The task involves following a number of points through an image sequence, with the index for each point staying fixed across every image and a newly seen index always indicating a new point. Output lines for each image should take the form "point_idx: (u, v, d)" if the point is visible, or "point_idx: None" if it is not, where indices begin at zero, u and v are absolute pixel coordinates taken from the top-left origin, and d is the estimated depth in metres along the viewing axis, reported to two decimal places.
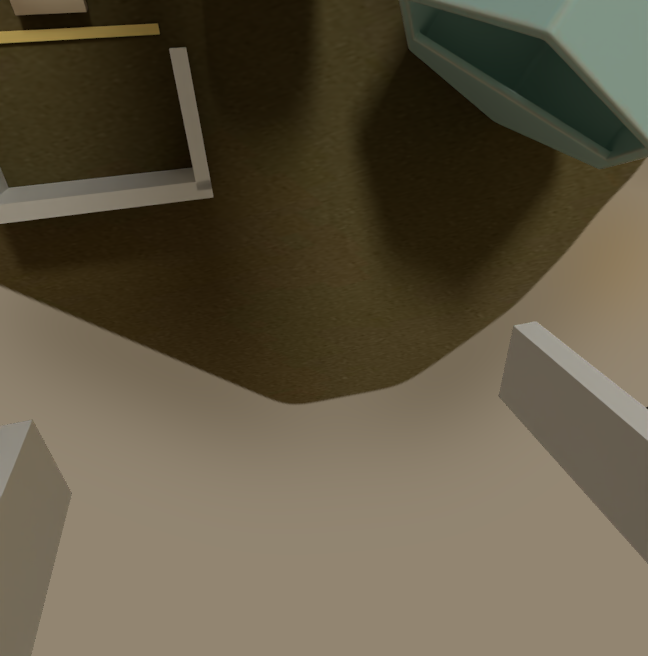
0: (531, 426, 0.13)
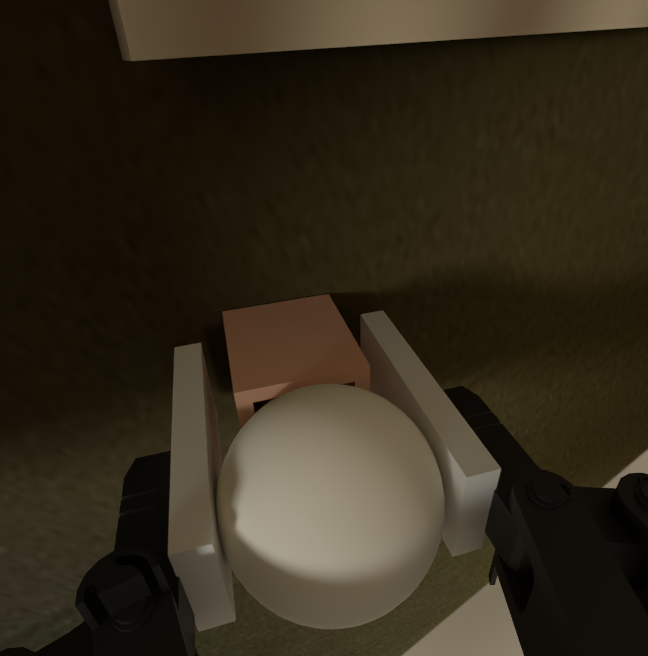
0: None
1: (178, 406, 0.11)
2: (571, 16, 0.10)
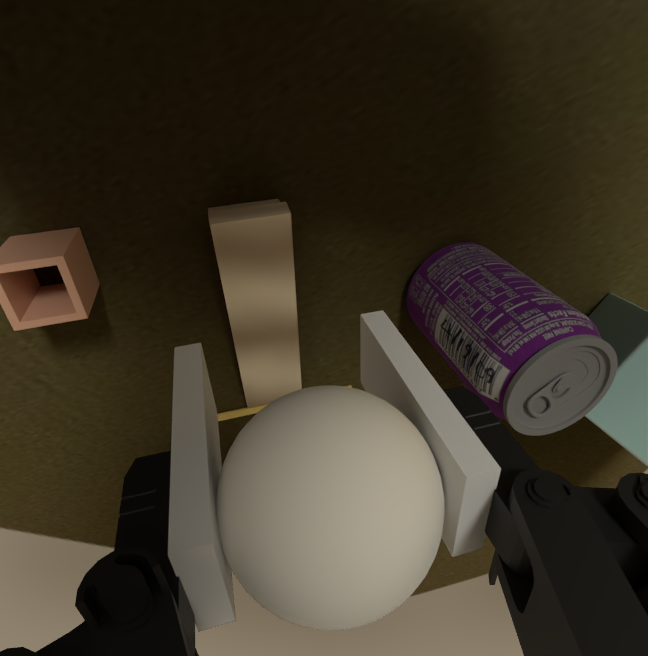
0: None
1: (178, 406, 0.11)
2: (241, 355, 0.29)
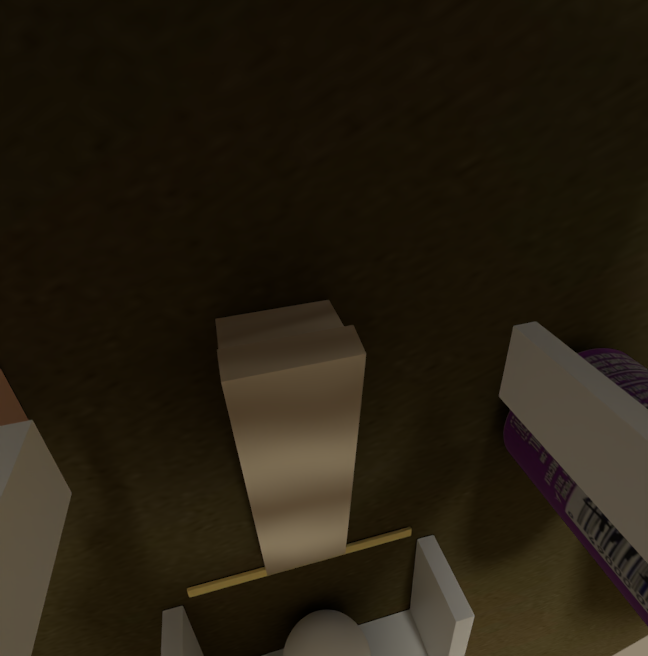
0: (531, 426, 0.13)
1: None
2: (263, 528, 0.19)
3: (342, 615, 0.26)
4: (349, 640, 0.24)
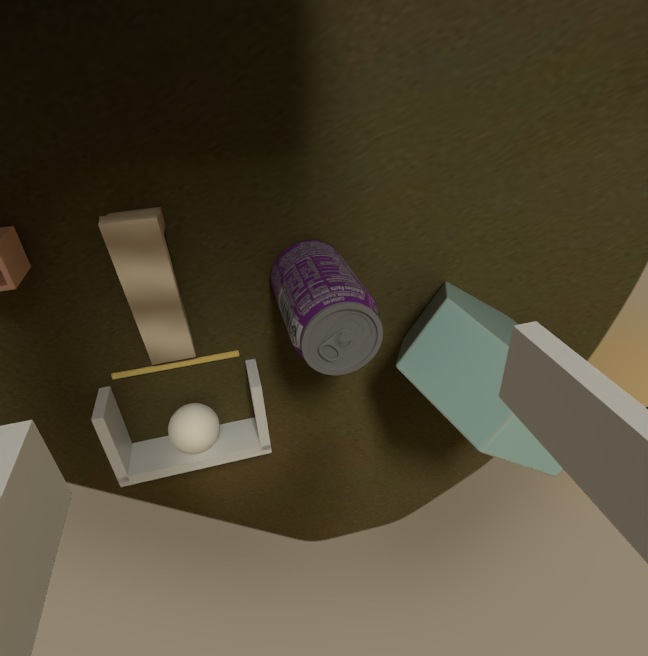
0: (531, 426, 0.13)
1: None
2: (139, 321, 0.39)
3: None
4: (203, 411, 0.45)
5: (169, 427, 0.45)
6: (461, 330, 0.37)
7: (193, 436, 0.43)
